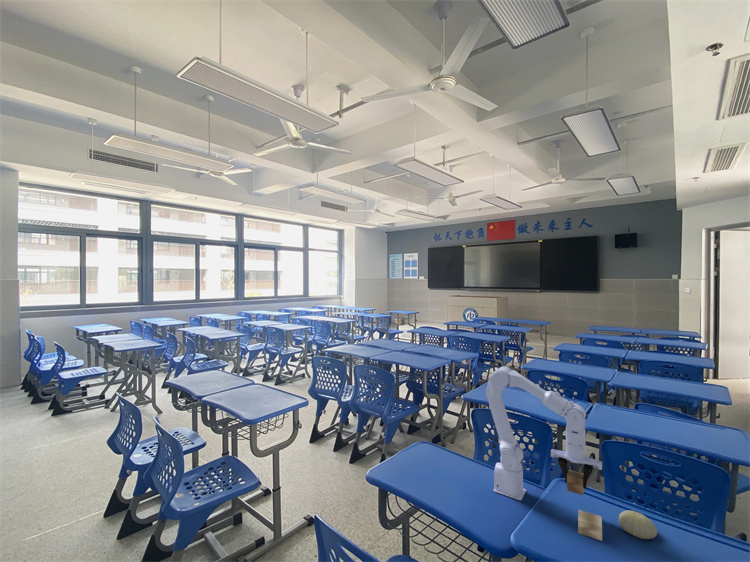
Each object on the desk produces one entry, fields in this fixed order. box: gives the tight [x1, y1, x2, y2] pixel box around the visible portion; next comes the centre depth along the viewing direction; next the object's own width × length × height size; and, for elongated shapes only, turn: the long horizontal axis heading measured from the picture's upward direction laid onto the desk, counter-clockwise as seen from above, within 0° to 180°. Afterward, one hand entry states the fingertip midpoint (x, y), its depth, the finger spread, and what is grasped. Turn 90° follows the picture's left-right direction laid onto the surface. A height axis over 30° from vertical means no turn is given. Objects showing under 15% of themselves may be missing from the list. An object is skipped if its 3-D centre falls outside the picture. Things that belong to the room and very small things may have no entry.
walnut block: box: [566, 469, 585, 496], centre depth 114 cm, size 4×4×5 cm
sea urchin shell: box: [618, 510, 658, 540], centre depth 104 cm, size 9×8×8 cm
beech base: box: [577, 509, 603, 542], centre depth 104 cm, size 6×6×4 cm
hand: (575, 484), depth 113 cm, fingers closed on walnut block, 4 cm apart
